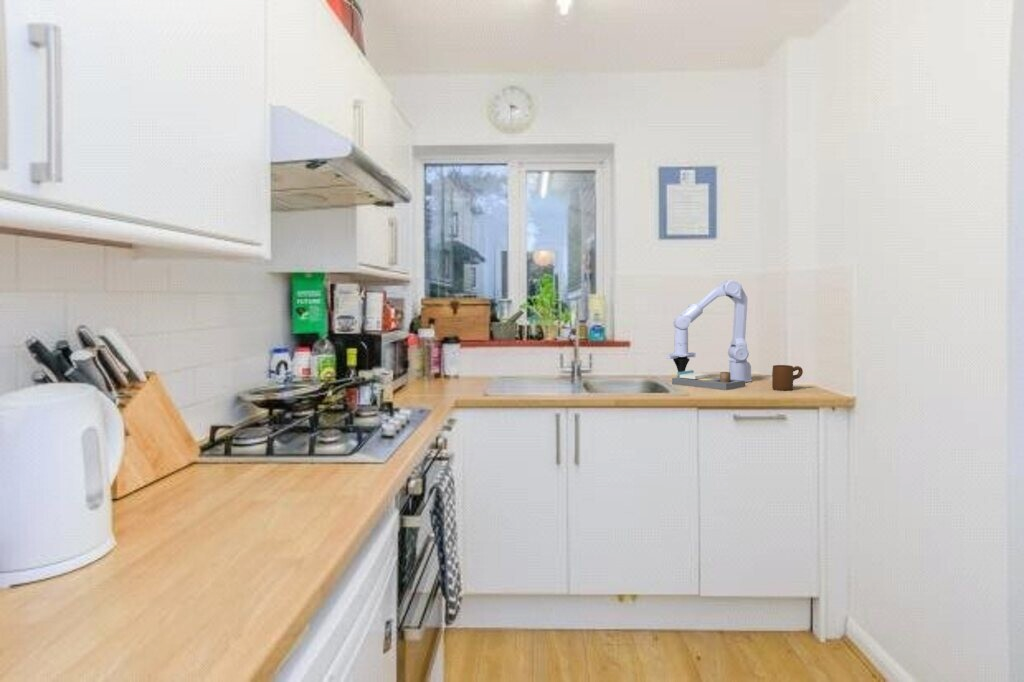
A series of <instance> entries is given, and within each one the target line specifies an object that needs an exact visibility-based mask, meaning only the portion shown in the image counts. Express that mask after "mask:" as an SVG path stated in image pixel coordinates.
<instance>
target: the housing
mask: <svg viewBox="0 0 1024 682" xmlns="http://www.w3.org/2000/svg"><path fill="white" fill-rule="evenodd" d="M671 384H672V385H678V386H688V387H695V388H697V387H698V388H705V389H711V390H712V389H713V390H714V389H715V390H721V391H722V390H723V391H728V390H735V389H738V388H744V387H746V382H745V380H735V379H730V382H720V377H713V376H709V377H706V378H699V379H689V378H679V377H677V376H676V377H672V378H671Z"/></svg>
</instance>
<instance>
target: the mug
mask: <svg viewBox="0 0 1024 682" xmlns="http://www.w3.org/2000/svg"><path fill="white" fill-rule="evenodd" d="M795 371H798V372H797V374H794V372H795ZM803 372H804V371H803V368H802V366H798V365H795V366H793V365H789V364H788V365H787V364H776V365H772V373H771V374H772V376H771V377H772V378H771V381H772V386H771V387H772V390H775V391H782V392H783V391H784V392H787V391H789V392H790V391H792V390H793V389H794V381H795V380H797V379H800V378H801V377H802V375H803Z"/></svg>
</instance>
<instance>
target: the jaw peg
mask: <svg viewBox="0 0 1024 682" xmlns="http://www.w3.org/2000/svg"><path fill="white" fill-rule="evenodd" d="M730 374H731V373H730V372H729V371H721V372H720V373H719V378H720V382H730Z"/></svg>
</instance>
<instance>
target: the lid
mask: <svg viewBox="0 0 1024 682" xmlns="http://www.w3.org/2000/svg"><path fill="white" fill-rule="evenodd" d="M677 377H679V378H689V379H699V378H706V377H710V374H709V373H699V372H694V370H693V369H692V370H691V369H690V370H685V371H682V372H678V371H677V375H676V378H677Z"/></svg>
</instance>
